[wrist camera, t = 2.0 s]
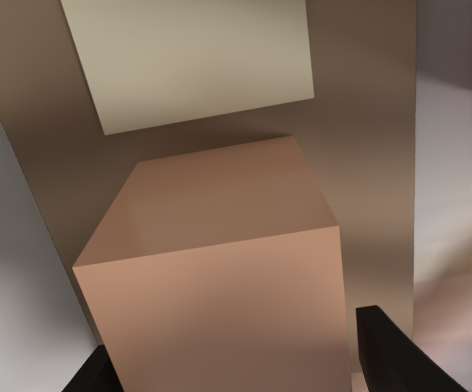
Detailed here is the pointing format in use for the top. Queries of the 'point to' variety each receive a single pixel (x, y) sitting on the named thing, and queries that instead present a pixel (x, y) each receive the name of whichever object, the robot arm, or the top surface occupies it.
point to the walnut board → (221, 113)
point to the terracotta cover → (221, 275)
